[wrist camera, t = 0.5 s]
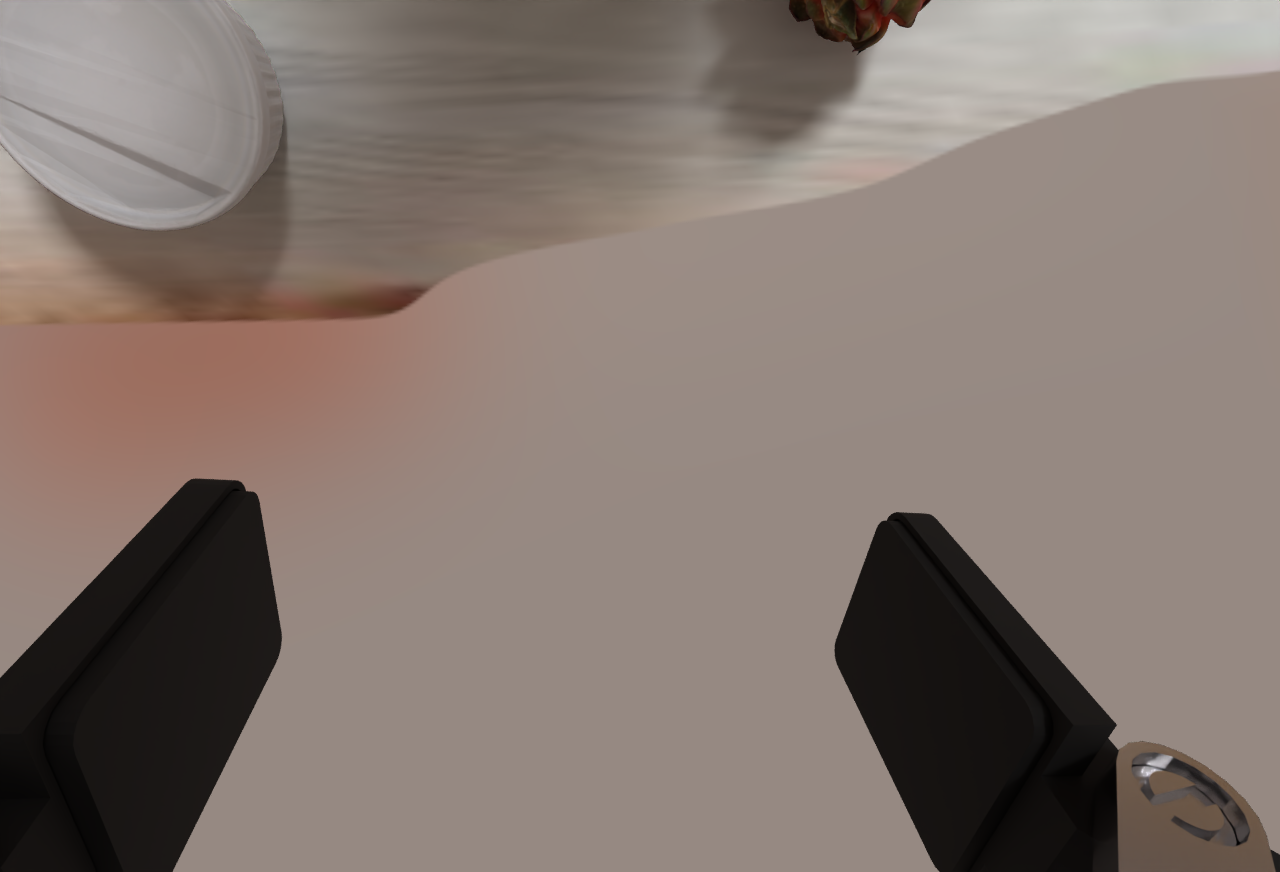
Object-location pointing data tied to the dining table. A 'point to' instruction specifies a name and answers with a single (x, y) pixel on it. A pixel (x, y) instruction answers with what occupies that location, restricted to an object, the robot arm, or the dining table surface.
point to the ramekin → (138, 106)
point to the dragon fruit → (856, 18)
